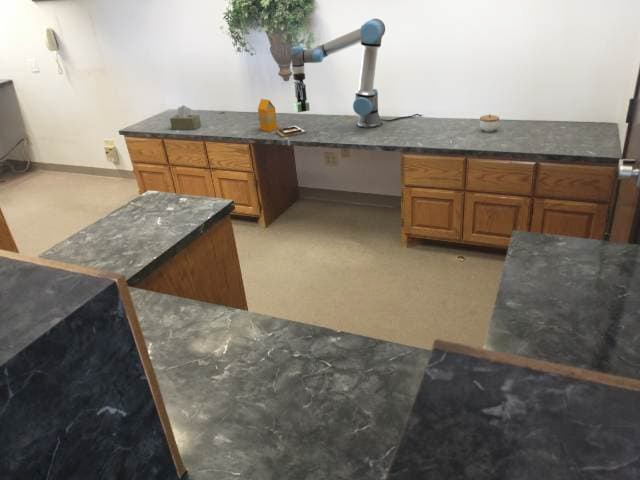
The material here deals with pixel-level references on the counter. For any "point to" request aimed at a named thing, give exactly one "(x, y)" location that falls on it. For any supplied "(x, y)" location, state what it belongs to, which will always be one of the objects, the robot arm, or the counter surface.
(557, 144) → the counter surface
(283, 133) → the tan flat rectangular frame
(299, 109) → the pale green block
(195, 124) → the tissue box
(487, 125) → the trinket box
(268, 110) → the orange juice
